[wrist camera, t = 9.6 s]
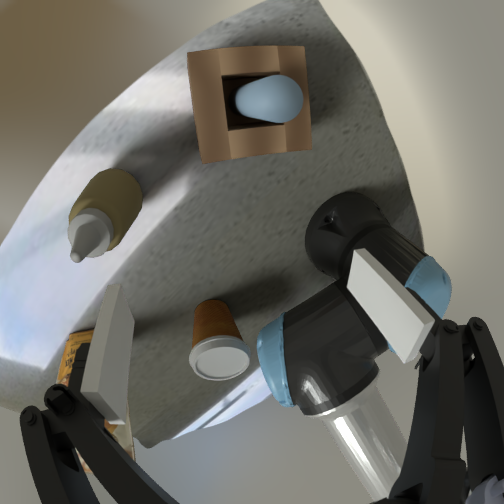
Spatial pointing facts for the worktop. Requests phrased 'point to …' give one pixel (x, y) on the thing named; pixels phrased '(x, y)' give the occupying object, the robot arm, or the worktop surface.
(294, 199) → the worktop surface
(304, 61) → the socket block
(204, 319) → the disposable coffee cup
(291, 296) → the worktop surface
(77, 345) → the pancake mix bag
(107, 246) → the squeeze bottle
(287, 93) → the dowel
